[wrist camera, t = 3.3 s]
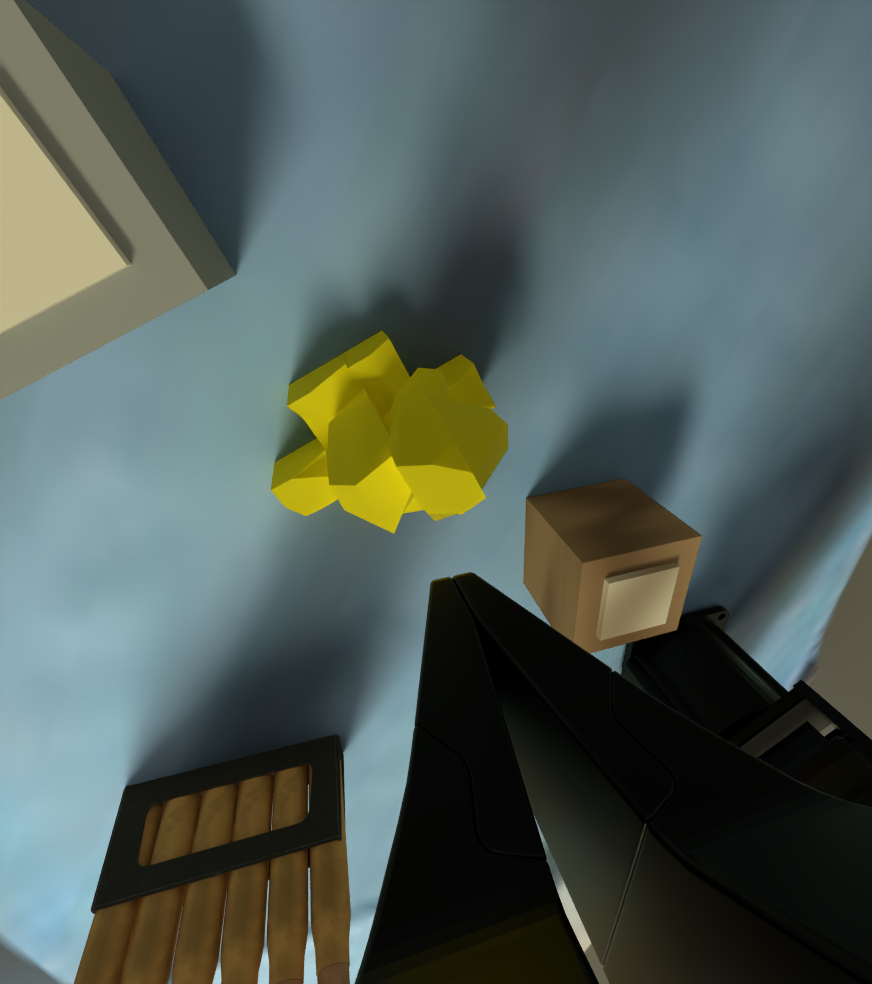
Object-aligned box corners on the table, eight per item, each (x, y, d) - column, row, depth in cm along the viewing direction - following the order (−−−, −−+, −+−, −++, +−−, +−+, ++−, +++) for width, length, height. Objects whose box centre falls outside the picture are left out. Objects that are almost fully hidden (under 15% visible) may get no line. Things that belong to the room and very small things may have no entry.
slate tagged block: (110, 73, 11) (-14, -33, 7) (236, 274, 14) (205, 291, 10) (-67, 167, 11) (-306, 121, 7) (92, 350, 14) (-7, 403, 10)
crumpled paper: (236, 414, 16) (190, 536, 9) (435, 298, 16) (528, 340, 9) (329, 530, 19) (344, 682, 13) (496, 433, 19) (600, 537, 12)
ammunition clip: (339, 733, 25) (363, 1068, 15) (343, 753, 26) (369, 1082, 16) (123, 786, 23) (-18, 1219, 13) (136, 806, 24) (13, 1226, 14)
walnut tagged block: (624, 477, 22) (707, 540, 17) (611, 561, 24) (681, 634, 20) (525, 497, 21) (587, 568, 16) (522, 581, 23) (575, 663, 19)
